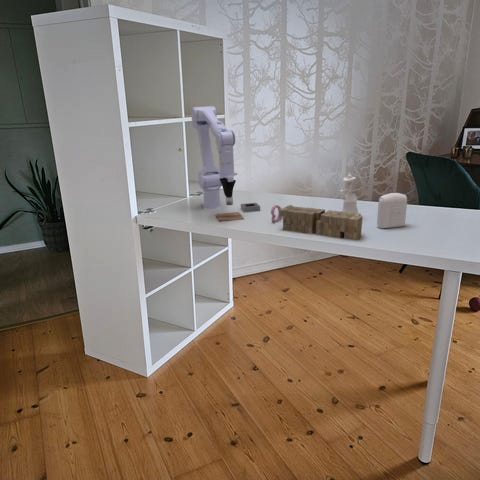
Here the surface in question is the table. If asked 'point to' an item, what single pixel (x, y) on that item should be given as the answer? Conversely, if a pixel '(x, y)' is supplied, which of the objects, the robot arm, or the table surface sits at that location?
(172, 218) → the table surface
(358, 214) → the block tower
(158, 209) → the table surface
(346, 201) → the figurine
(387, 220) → the off-white upright rounded block
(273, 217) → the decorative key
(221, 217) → the pad
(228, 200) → the silver metal cylinder
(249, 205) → the chuck block
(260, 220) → the table surface
